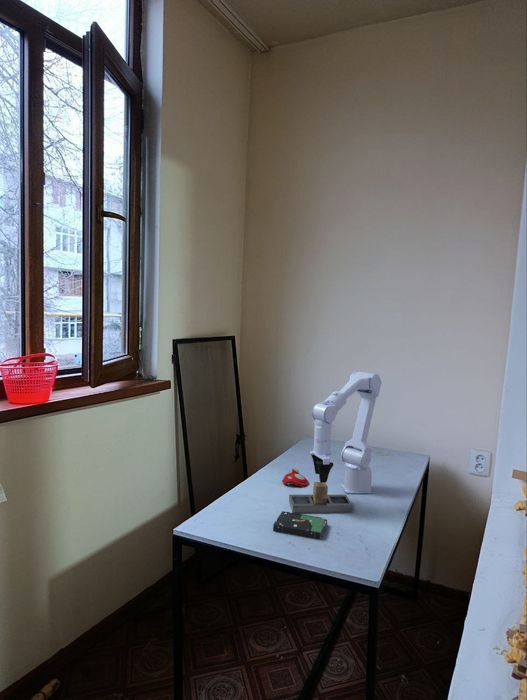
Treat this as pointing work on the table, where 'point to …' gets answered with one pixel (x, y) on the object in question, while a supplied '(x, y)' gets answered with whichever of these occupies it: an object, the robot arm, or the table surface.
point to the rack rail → (320, 504)
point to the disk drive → (300, 525)
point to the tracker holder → (295, 478)
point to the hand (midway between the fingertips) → (320, 477)
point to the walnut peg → (320, 492)
